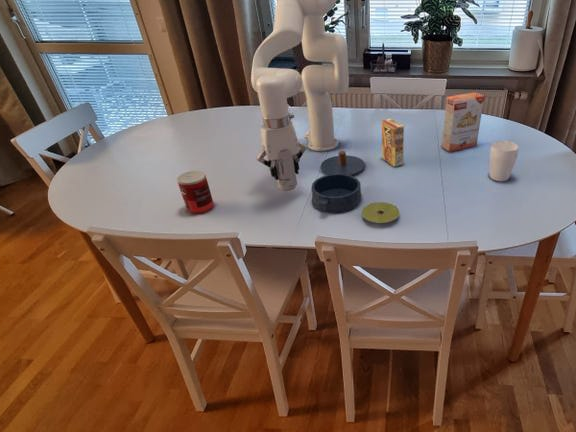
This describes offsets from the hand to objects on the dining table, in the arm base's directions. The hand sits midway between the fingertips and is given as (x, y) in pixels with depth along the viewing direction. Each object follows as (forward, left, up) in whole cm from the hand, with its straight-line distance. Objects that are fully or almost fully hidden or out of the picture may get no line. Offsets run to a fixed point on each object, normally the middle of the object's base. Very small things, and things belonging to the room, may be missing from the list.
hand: (285, 174), depth 124 cm
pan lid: (+4, +25, -7) cm, 27 cm away
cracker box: (+36, +63, -8) cm, 73 cm away
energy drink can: (0, 0, -5) cm, 5 cm away
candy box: (+18, +38, -8) cm, 43 cm away
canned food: (-20, -19, -8) cm, 28 cm away
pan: (+15, +5, -8) cm, 18 cm away
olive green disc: (+32, +3, -8) cm, 33 cm away
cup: (+57, +45, -8) cm, 73 cm away
